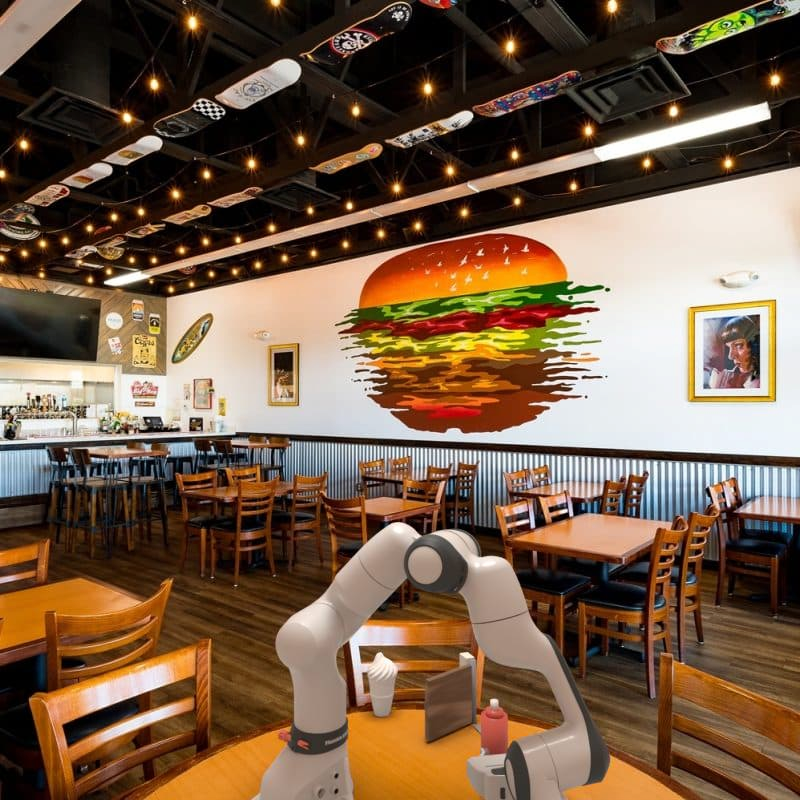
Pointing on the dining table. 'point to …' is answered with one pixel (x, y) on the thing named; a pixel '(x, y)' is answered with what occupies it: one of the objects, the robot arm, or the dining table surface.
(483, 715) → the ketchup bottle
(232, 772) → the dining table surface
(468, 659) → the white-tipped grey slat
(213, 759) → the dining table surface
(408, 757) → the dining table surface
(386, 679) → the soft serve ice cream cone
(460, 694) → the door
